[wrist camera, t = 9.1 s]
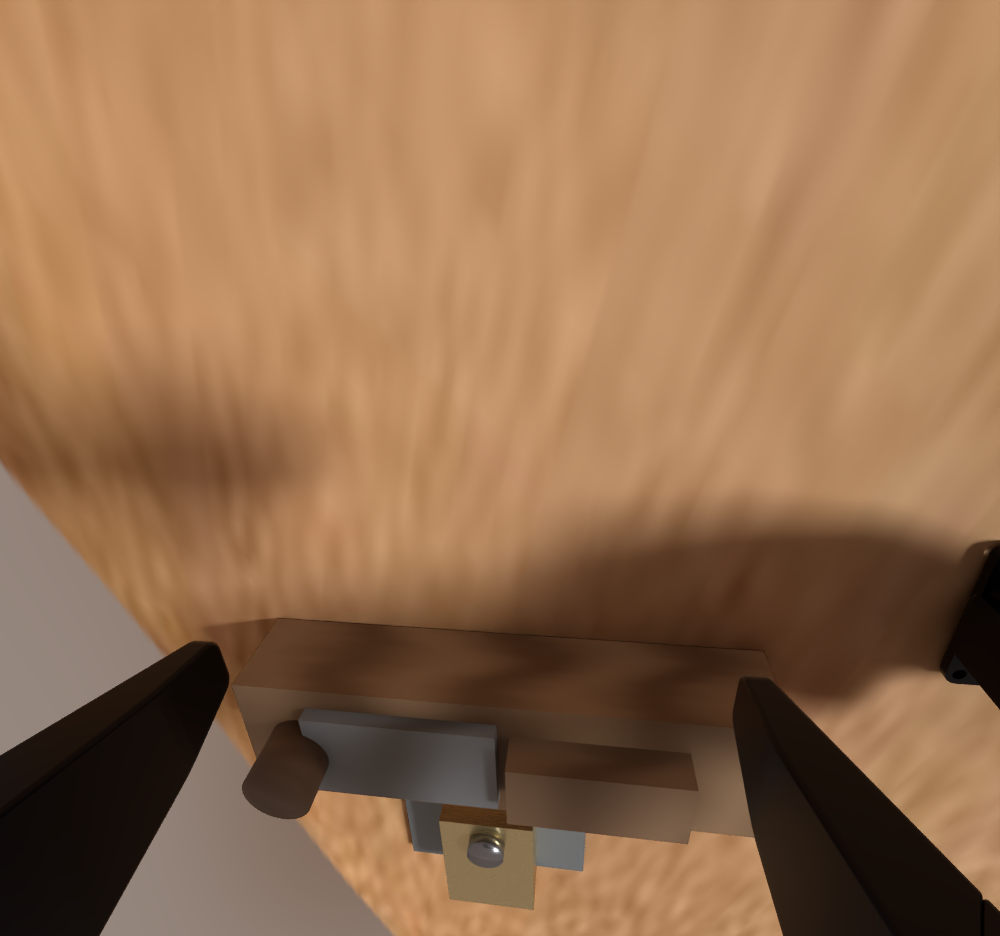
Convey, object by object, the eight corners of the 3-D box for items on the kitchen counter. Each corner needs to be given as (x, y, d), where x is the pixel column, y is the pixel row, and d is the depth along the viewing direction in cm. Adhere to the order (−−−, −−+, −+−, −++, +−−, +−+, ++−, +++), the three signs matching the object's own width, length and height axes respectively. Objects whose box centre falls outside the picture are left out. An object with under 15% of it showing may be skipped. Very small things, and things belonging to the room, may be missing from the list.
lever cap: (536, 859, 32) (533, 923, 29) (458, 850, 32) (447, 911, 29) (536, 781, 28) (531, 844, 26) (449, 773, 29) (436, 833, 26)
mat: (588, 774, 28) (588, 782, 28) (582, 863, 32) (582, 871, 32) (401, 756, 30) (398, 763, 29) (415, 843, 33) (413, 850, 33)
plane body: (763, 651, 23) (823, 798, 18) (739, 751, 26) (783, 905, 21) (278, 618, 26) (195, 735, 20) (303, 712, 29) (236, 838, 23)
